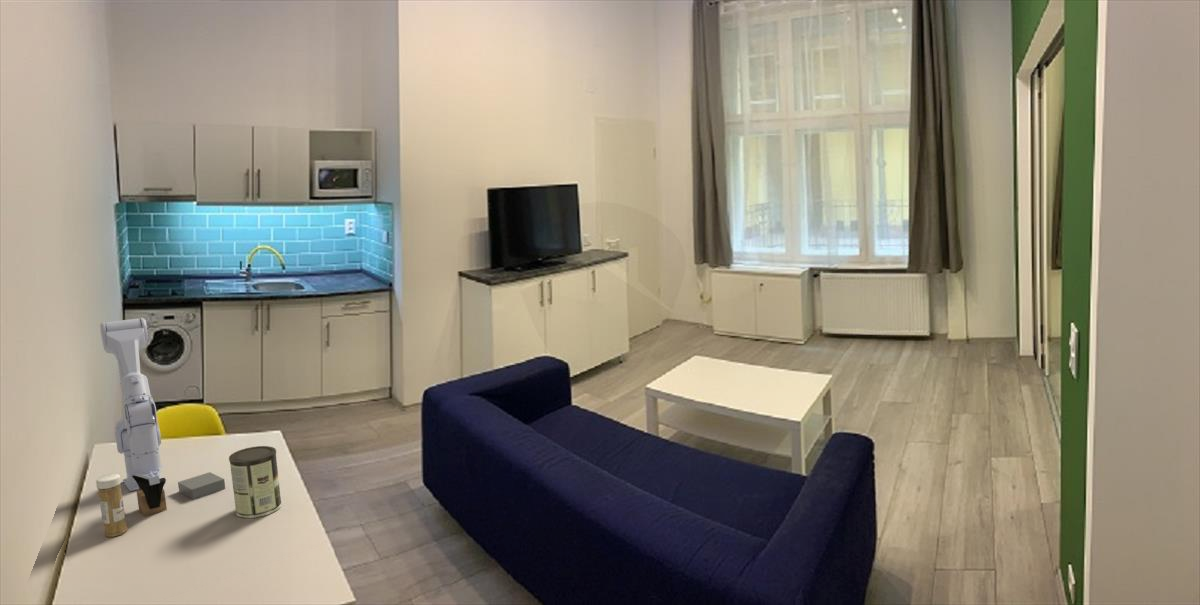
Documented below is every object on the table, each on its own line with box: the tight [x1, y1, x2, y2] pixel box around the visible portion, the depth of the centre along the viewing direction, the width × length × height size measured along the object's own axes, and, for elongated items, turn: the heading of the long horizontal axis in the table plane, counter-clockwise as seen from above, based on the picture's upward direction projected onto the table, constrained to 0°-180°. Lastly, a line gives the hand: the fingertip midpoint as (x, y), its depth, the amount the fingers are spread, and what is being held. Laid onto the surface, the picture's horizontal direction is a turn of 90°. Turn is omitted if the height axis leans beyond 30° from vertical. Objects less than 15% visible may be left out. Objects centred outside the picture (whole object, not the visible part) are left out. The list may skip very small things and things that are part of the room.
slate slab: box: [177, 471, 226, 500], centre depth 195 cm, size 8×8×3 cm
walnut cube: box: [135, 488, 168, 517], centre depth 184 cm, size 5×5×5 cm
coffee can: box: [228, 445, 282, 519], centre depth 182 cm, size 10×10×14 cm
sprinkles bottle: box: [95, 473, 128, 538], centre depth 172 cm, size 5×5×13 cm
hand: (152, 504), depth 185 cm, fingers closed on walnut cube, 5 cm apart
